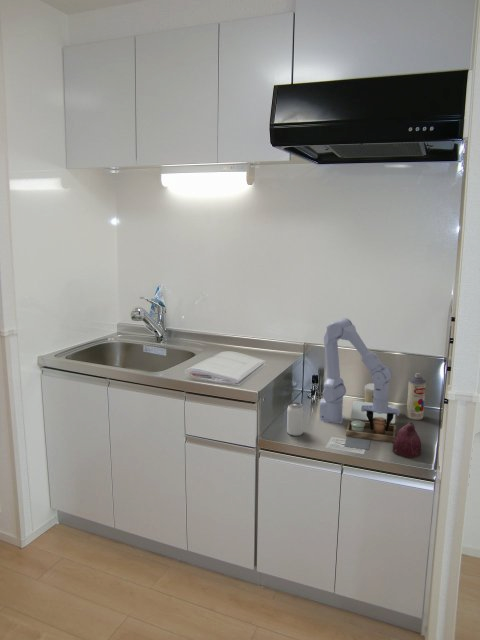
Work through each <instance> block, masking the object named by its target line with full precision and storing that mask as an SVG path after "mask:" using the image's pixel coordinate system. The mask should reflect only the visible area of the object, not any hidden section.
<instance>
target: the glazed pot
mask: <svg viewBox="0 0 480 640" xmlns="http://www.w3.org/2000/svg"><path fill="white" fill-rule="evenodd" d="M362 421H363V420H356V421H352V422H351V425H352V431H357V432H364V426H365V423H364V422H365V421H364V422H362Z"/></svg>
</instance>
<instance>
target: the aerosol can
mask: <svg viewBox="0 0 480 640" xmlns="http://www.w3.org/2000/svg"><path fill="white" fill-rule="evenodd" d="M426 384H427V383H426V380H425V379H424V378H423V377H422V376H421V373H420V372H415V375H414V376H412V377H411V378H409V380H408V387H407V400H406V401H407V402H406V403H407V404H406V417H407V418H408V419H411V420H415V421H419V420H422V419H423V418H424V411H425V410H424V409H425V397H426Z"/></svg>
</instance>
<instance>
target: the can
mask: <svg viewBox="0 0 480 640" xmlns="http://www.w3.org/2000/svg"><path fill="white" fill-rule="evenodd" d="M286 412H287V413H286V414H287V416H286V417H287V418H286V419H287V420H286V422H287V424H286V425H287V426H286V431H287V434H289V435H290V436H293V437H298V436H302V435H303V433H304V412H305V411H304V407H303V404H302V403H300V402H295V401H294V402H290V403H289V404H288V406H287V410H286Z"/></svg>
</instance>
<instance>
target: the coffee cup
mask: <svg viewBox="0 0 480 640" xmlns="http://www.w3.org/2000/svg"><path fill="white" fill-rule="evenodd" d="M373 396H374V382H372V383H366V384H365V385H364V402H369V403H373Z"/></svg>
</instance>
